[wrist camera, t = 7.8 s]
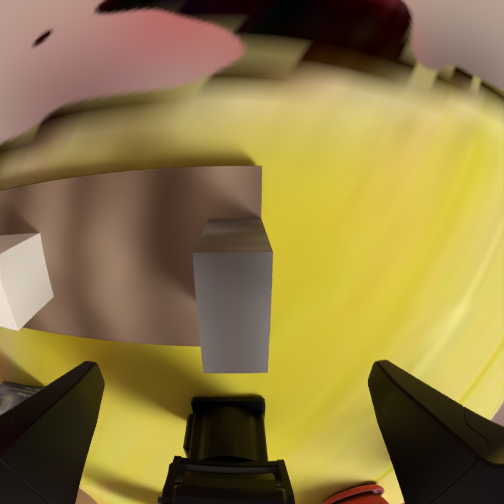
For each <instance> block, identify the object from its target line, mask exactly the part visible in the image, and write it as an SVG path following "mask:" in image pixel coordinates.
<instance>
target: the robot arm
mask: <svg viewBox="0 0 504 504" xmlns="http://www.w3.org/2000/svg"><path fill="white" fill-rule="evenodd" d="M104 385H105V383H104V379H103V376H102V374H101V371H100V369H99V366H98V364H97V363H95V362H90V361H85V362H83V363H81V364H80V365H78V366H77V367H75V368H74V369H72V370H70V371H69V372H67V373H66V374H64V375H63V376H61V377H60V378H58V379H56V380H55V381H53V382H52V383H50V384H49V385H47V386H45V387H44V388H42V389H41V390H39V391H38V392H36V393H34V394H33V395H31V396H30V397H28V398H27V399H25V400H23V401H22V402H20V403H19V404H17V405H16V406H14V407H13V408H11V409H9V410H8V411H6V412H4V413H3V414H1V415H0V504H75V502H76V498H77V493H78V489H79V485H80V481H81V477H82V473H83V469H84V465H85V461H86V458H87V454H88V451H89V447H90V444H91V440H92V437H93V434H94V430H95V427H96V424H97V419H98V415H99V409H100V405H101V400H102V395H103V391H104ZM368 387H369V390H370V394H371V398H372V402H373V406H374V410H375V415H376V418H377V422H378V425H379V428H380V431H381V433H382V436H383V439H384V442H385V444H386V447H387V450H388V453H389V456H390V459H391V462H392V465H393V468H394V471H395V474H396V477H397V480H398V483H399V486H400V489H401V492H402V495H403V498H404V502H405V504H504V427H503V426H501V425H499V424H497V423H494V422H492V421H490V420H488V419H486V418H484V417H482V416H480V415H478V414H477V413H475V412H473V411H471V410H469V409H468V408H466V407H463V406H462V405H461V404H459V403H457V402H456V401H454V400H452V399H451V398H449V397H447V396H446V395H444V394H442V393H441V392H439V391H437V390H436V389H434V388H432V387H431V386H429V385H427V384H426V383H424V382H422V381H421V380H419V379H417V378H416V377H414V376H412V375H411V374H409V373H407V372H406V371H404V370H403V369H401V368H399V367H398V366H396V365H394V364H393V363H391V362H390V361H388V360H379V361H375V362H374V364H373V366H372V369H371V372H370V375H369V378H368ZM259 402H260V403H259ZM191 406H192V410H193V414H189V415H188V418H187V425H186V432H185V438H184V445H183V448H184V451H185V454H186V457H187V458H182V457H181V456H174V460H173V463H171V464H169V470H168V475H167V479H166V482H165V485H164V487H163V489H162V491H161V493H160V495H159V497H158V504H295V500H294V494H293V490H292V487H291V483H290V480H289V476H288V473H287V469H286V465H285V462H284V459H283V460H277V461H268V455H267V445H266V435H265V425H264V416H265V399H264V398H260V397H258V398H206V397H194V398H192V401H191Z"/></svg>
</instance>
